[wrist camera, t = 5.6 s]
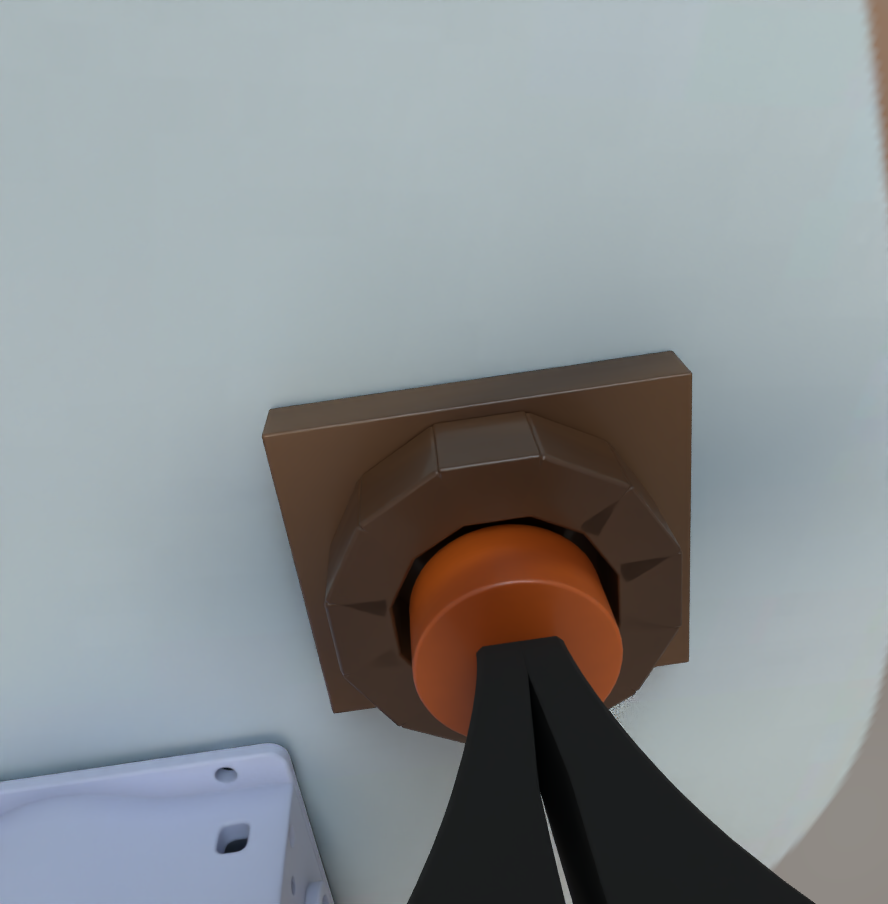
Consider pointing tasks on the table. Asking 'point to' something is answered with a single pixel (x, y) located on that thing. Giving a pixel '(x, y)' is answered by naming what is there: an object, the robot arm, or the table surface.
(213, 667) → the table surface
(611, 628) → the button
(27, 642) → the table surface
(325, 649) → the button block
